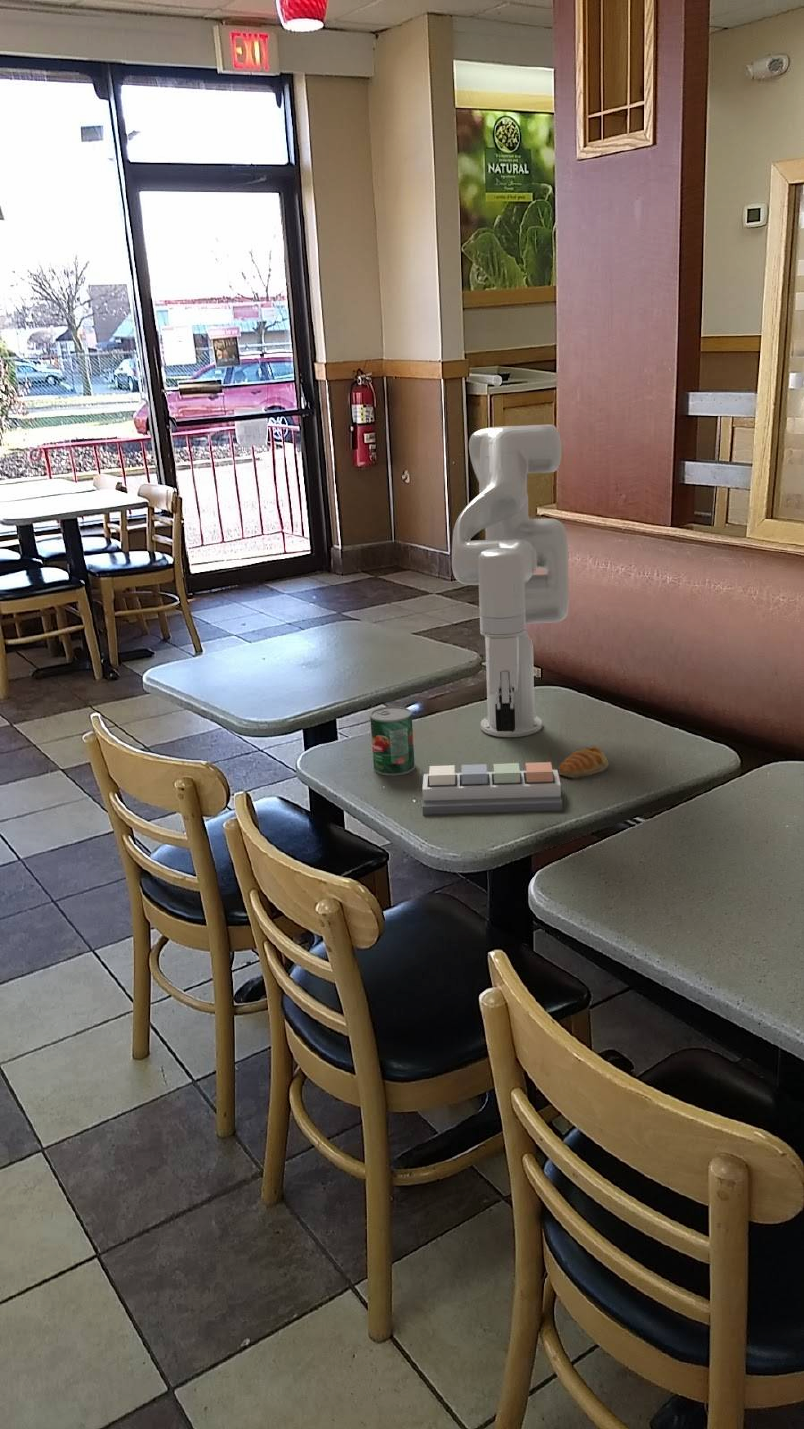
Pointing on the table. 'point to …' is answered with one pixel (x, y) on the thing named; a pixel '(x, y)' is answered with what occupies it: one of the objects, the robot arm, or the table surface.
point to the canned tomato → (392, 740)
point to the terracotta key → (539, 772)
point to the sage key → (506, 773)
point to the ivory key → (442, 775)
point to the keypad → (492, 796)
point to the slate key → (474, 774)
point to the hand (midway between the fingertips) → (505, 727)
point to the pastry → (583, 763)
